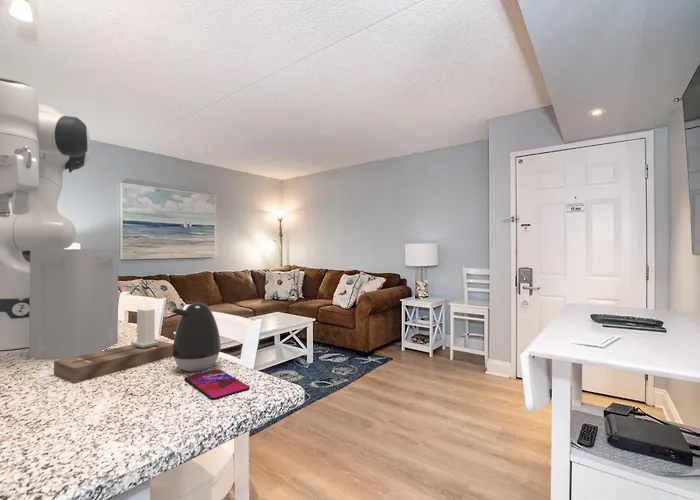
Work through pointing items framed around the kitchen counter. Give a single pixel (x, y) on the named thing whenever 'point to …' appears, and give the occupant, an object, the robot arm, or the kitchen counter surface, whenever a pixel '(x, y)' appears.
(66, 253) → the grey box
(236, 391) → the smartphone
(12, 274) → the robot arm
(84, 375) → the board
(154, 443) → the kitchen counter surface
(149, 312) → the fader tab
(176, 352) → the pump dispenser
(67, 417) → the kitchen counter surface
